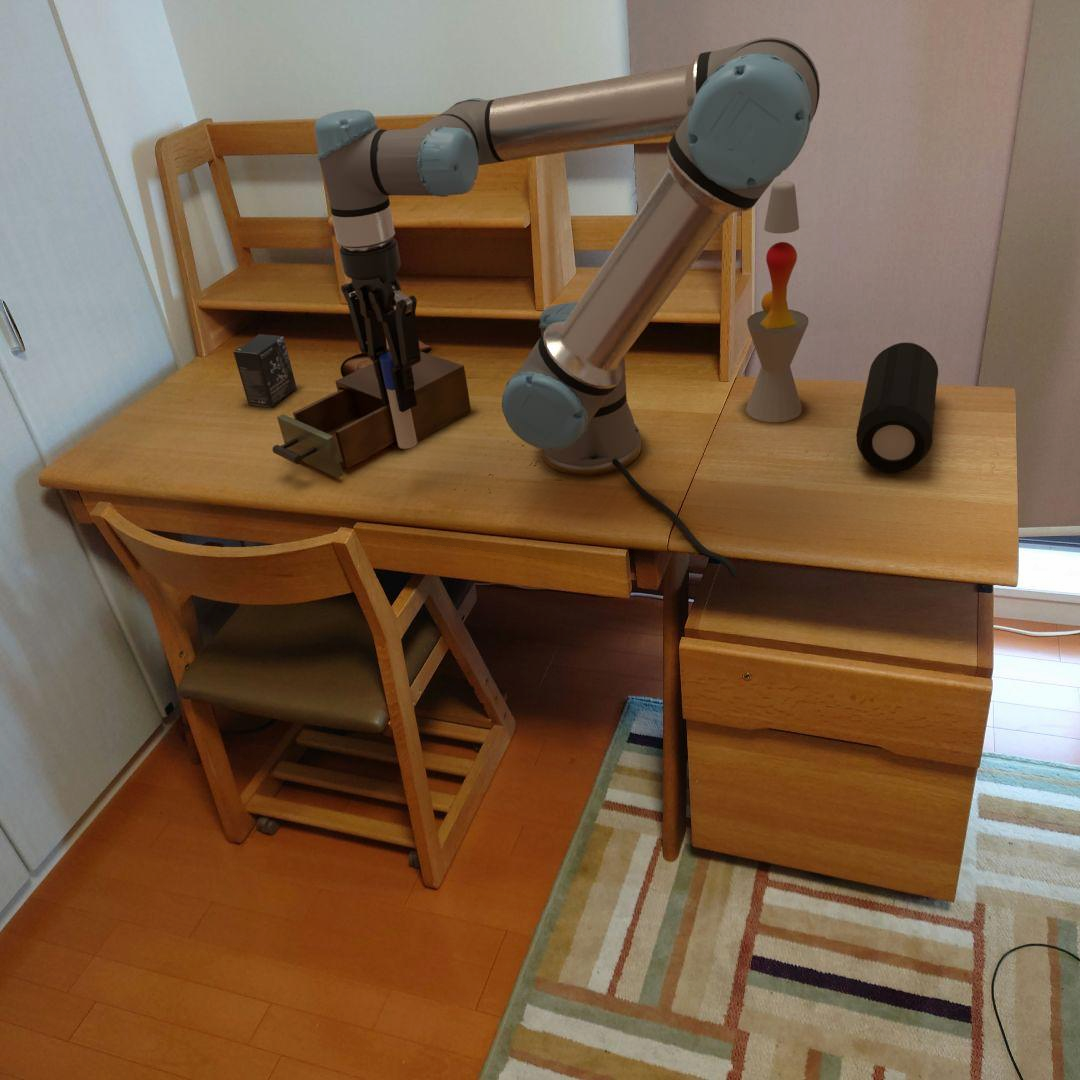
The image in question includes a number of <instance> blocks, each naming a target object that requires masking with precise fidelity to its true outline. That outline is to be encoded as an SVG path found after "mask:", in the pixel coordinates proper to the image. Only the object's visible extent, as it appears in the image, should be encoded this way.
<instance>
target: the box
mask: <svg viewBox="0 0 1080 1080" xmlns="http://www.w3.org/2000/svg"><path fill="white" fill-rule="evenodd" d="M232 353H233V356H234V359H235V363H236V366H237V367H236V368H237V370H238V374H239V377H240V380H241V384H242V387H243V391H244V394H245V397H246V401H247V403H248V405H250V406H251V405H252V406H257V407H264V408H270V409H271V408H273V407H275V406H276V404H278V403H280V402H281V401H282V400H283V399H285V398H286V397H287V396H289V395H290V394H292V393H293V392H295V391H296V390H297V389H298V388H297V383H296V380H295V375H294V371H293V368H292V365H291V360H290V356H289V353H288V349H287V345H286V340H285V337H284V336H282V335H274V334H263V333H259V334H257V335H256V336H254V337H253V338H251V339H250V340H248V341H247V342H246V343H244V344H242V345H241V346H239V347H238V348H235V349H234V350H233V352H232Z"/></svg>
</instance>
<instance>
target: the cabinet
mask: <svg viewBox="0 0 1080 1080" xmlns="http://www.w3.org/2000/svg"><path fill="white" fill-rule="evenodd" d="M420 356H421V361H420V362H419V363H417V364H415V365H413V366H412V373H413V378H414V391H415V396H416V401H417V405H416V406H414V407H412V408H411V413H412V418H413V423H414V429H415V434H416V439H417V443H419V442H420V441H422V440H424V439H426V438H427V437H429V436H431V435H433V434H434V433H436V432H438V431H441V430H442V429H444V428H445V427H447V426H449V425H451V424H452V423H454V422H457V421H458V420H460V419H462V418H463V417H466V416H468V414H471V413H472V407H471V402H470V396H469V395H470V394H469V388H468V383H467V376H466V370H465V365H463V364H460V363H457V362H454V361H451V360H448V359H445V358H441V357H438V356H435V355H433V354H429V353H427V352H421V351H420ZM375 373H376V372H375V369H374V364H373V363H372V364H370V365H368V366H366V367H364V368H362V369H360V370H358V371H356V372H354V373H351V374H349V375H347V376H345V377H341V378H339V379H337V380H335V381H334V382H335V385H336V391H339V390H341V389H343V388H344V389H347V390H349V391H352V392H355V393H357V394H360V395H362V396H365V397H367V398H370V399H373V400H375V401H378V402H380V403H383V402H382V398H381V393H380V388H379V384H378V380H377V377H376V374H375ZM388 406H389V407H390V404H389V405H388ZM390 411H391V408H390ZM391 416H392V413H391ZM392 421H393V418H392ZM393 426H394V423H393ZM394 430H395V427H394ZM395 435H396V432H395ZM396 440H397V437H396ZM388 447H391V448H394V449H395V450H399V451H404V450H405V449H402V448H400V447H399V446H398V442H397V441H396V442H394V443H393V444H391V445H389V446H388Z"/></svg>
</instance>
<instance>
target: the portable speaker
mask: <svg viewBox="0 0 1080 1080" xmlns="http://www.w3.org/2000/svg"><path fill="white" fill-rule="evenodd" d="M867 377H868V378H867V381H866V387H865V391H864V394H863V395H864V396H863V399H862V406H861V410H860V415H859V419H858V424H857V429H856V435H855V436H856V445H857V448H858V451H859V453H860V454H861V455H862V457H863V458H864V460H865V461H866V463H868V465H869V466H870V467H872V468H874V470H878V471H879V472H883V473H888V474H898V473H903V472H907V471H909V470H912V469H913V468H914V467H916V465H918V464H919V463H921V462H922V461H923V460H924V459H925V458H926V456H927V455H928V454H929V452H930V451H931V448H932V445H933V433H934V422H935V410H936V405H937V404H936V403H937V387H938V378H939V367H938V363H937V360H936V359H935V357H934V356H933V354H931V353H930V351H928V350H927V349H926V348H924V347H923V346H921V345H919V344H917V343H914V342H908V341H907V342H899V343H895V344H893V345H891V346H888V347H887V348H885V349H883V350H882V351H881V352H879V353H878V355H877V356H876V357H874V359H873V361H872V363H871V364H870V368H869V371H868V376H867Z"/></svg>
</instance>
